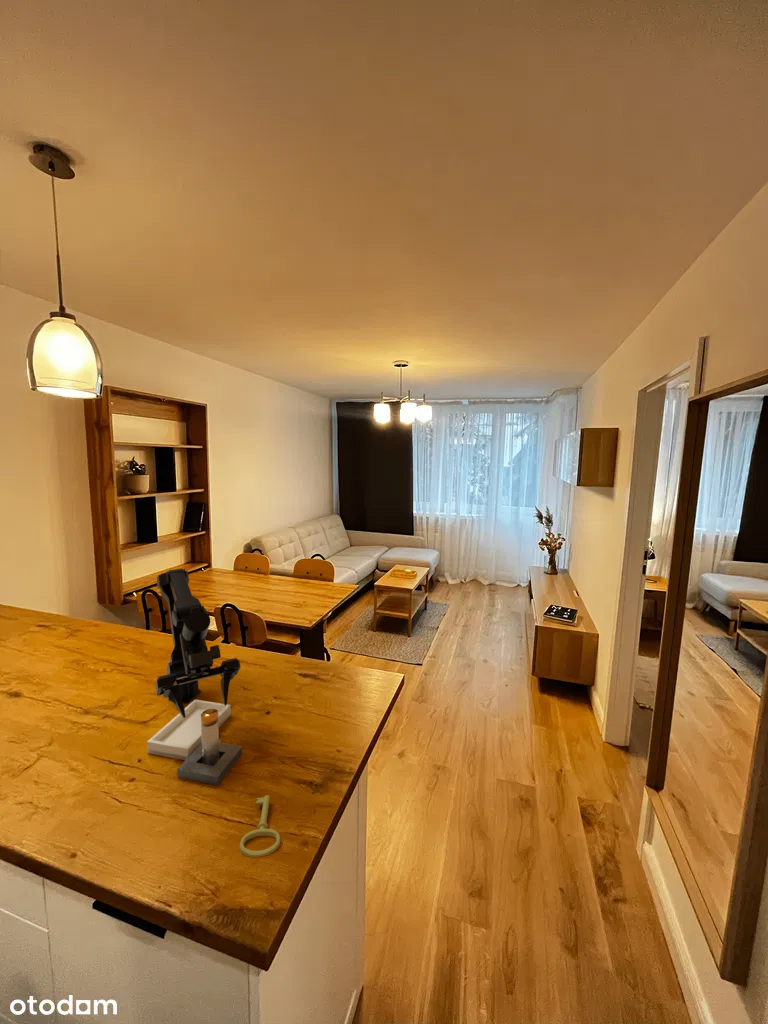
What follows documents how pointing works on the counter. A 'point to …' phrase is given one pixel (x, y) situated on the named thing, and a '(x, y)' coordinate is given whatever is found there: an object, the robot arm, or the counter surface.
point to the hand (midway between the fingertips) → (205, 711)
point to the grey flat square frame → (207, 773)
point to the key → (261, 832)
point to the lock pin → (210, 737)
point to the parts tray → (185, 731)
